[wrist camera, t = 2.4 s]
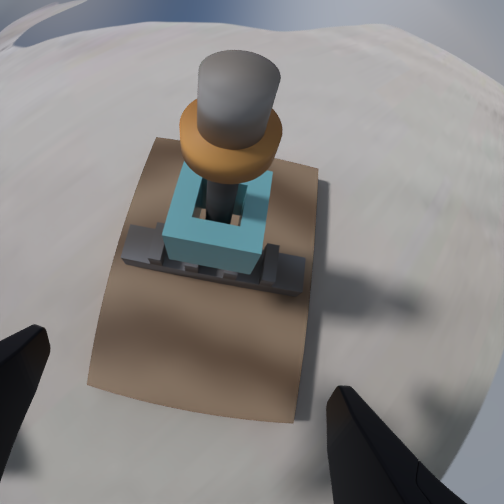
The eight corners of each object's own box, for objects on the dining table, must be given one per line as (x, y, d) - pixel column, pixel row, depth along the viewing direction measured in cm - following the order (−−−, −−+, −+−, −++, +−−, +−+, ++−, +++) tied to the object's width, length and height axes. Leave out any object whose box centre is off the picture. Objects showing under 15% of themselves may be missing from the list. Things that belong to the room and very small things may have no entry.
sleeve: (250, 274, 15) (261, 254, 12) (169, 259, 15) (161, 234, 12) (261, 202, 16) (272, 171, 14) (187, 188, 16) (185, 155, 13)
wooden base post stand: (287, 419, 20) (467, 512, 4) (94, 383, 18) (-103, 399, 2) (312, 178, 27) (406, 14, 11) (157, 148, 25) (141, -38, 9)
